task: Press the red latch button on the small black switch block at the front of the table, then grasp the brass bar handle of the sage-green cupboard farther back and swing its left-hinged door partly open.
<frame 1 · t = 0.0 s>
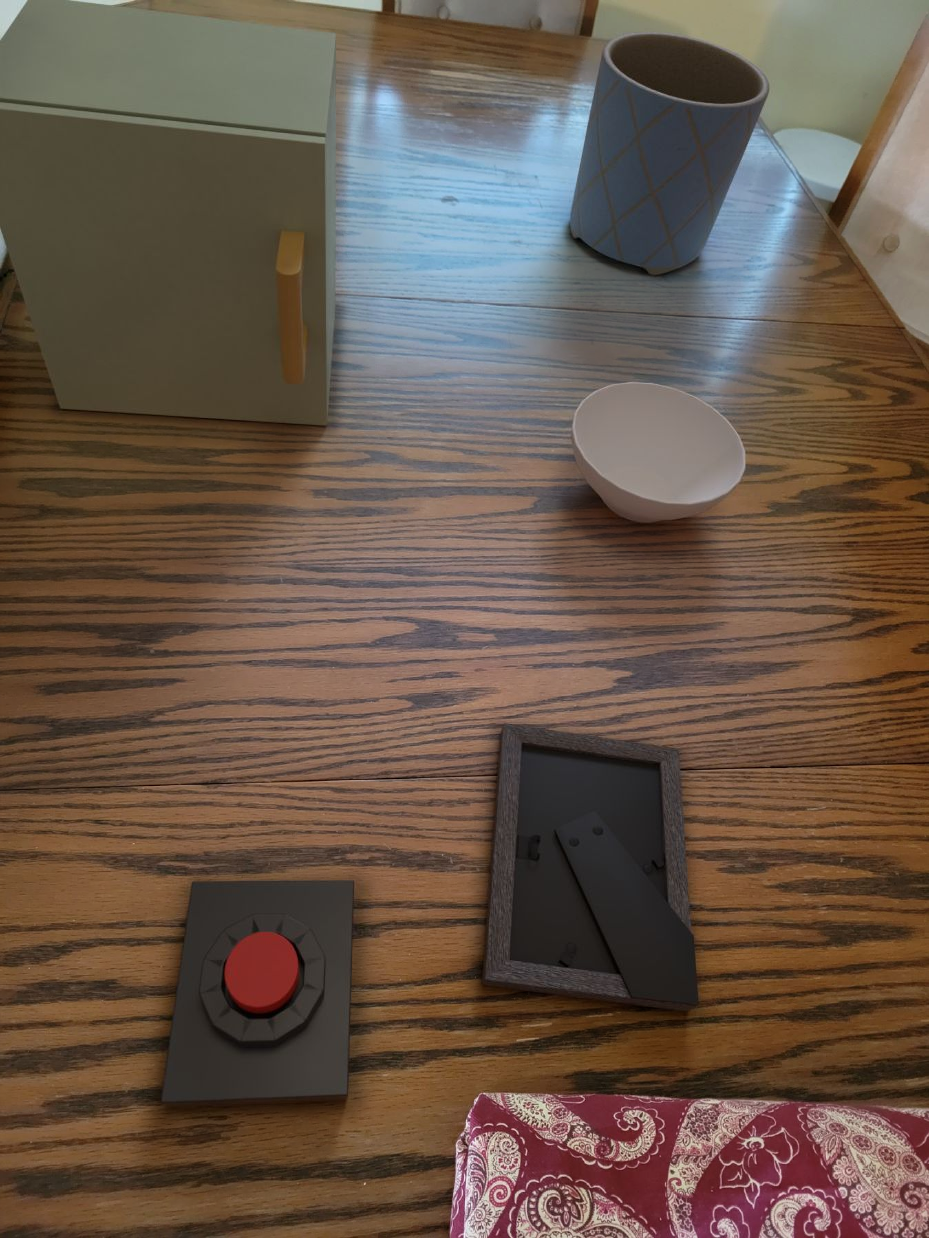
cabinet door: (170, 311, 67), point 13 cm above the table, hinge at 0.0°
latch button: (262, 972, 47), point 5 cm above the table, slide at 0.1 cm
bowl: (636, 495, 81), on the table
planter: (634, 239, 109), on the table
cabinet: (210, 351, 85), on the table
switch block: (267, 990, 51), on the table
picture frame: (585, 861, 58), on the table
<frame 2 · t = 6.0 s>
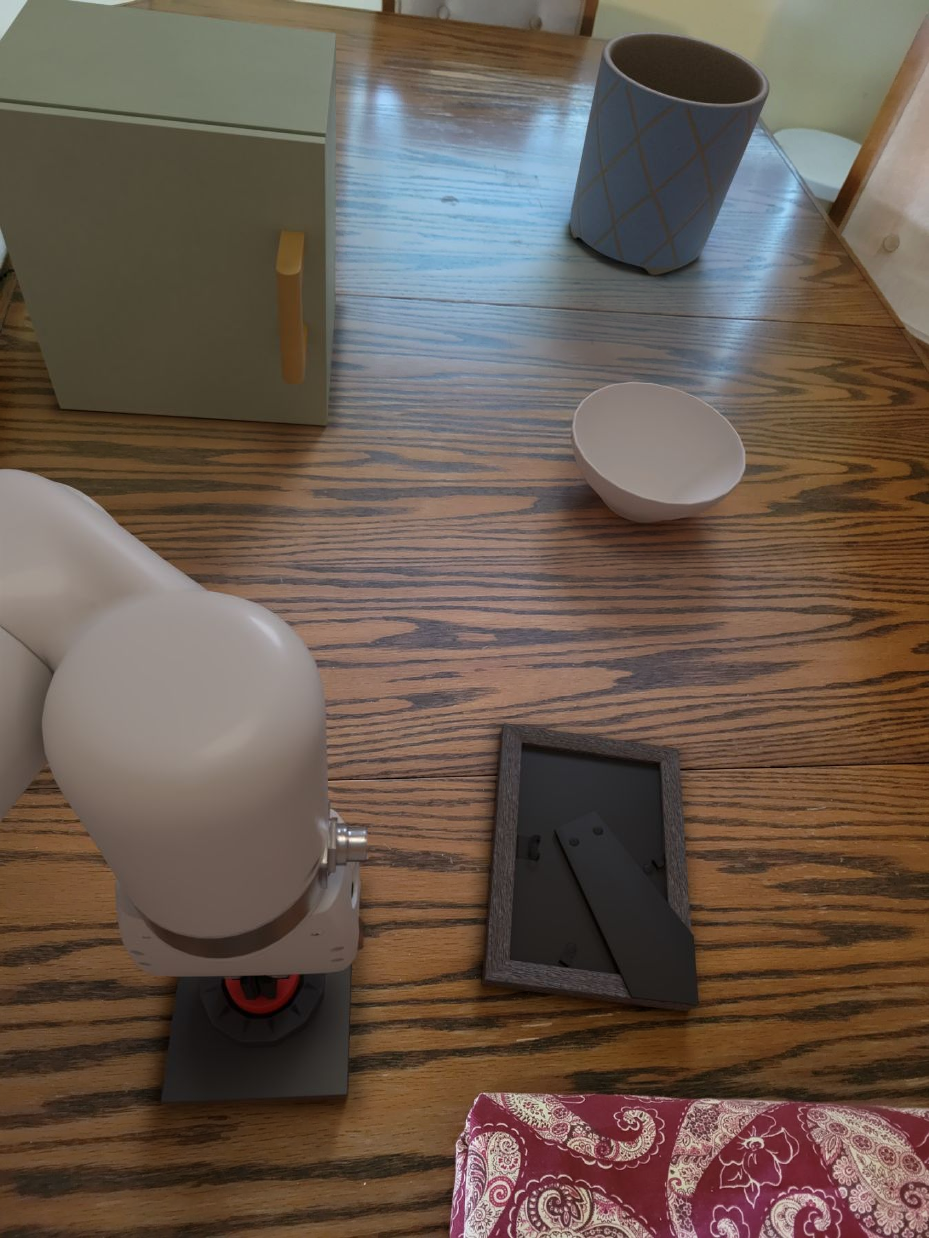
hand: (264, 969, 46), 5 cm above the table, tool pointing down, fingers closed
latch button: (262, 972, 47), point 4 cm above the table, slide at 0.1 cm, touching gripper
everything else where it was.
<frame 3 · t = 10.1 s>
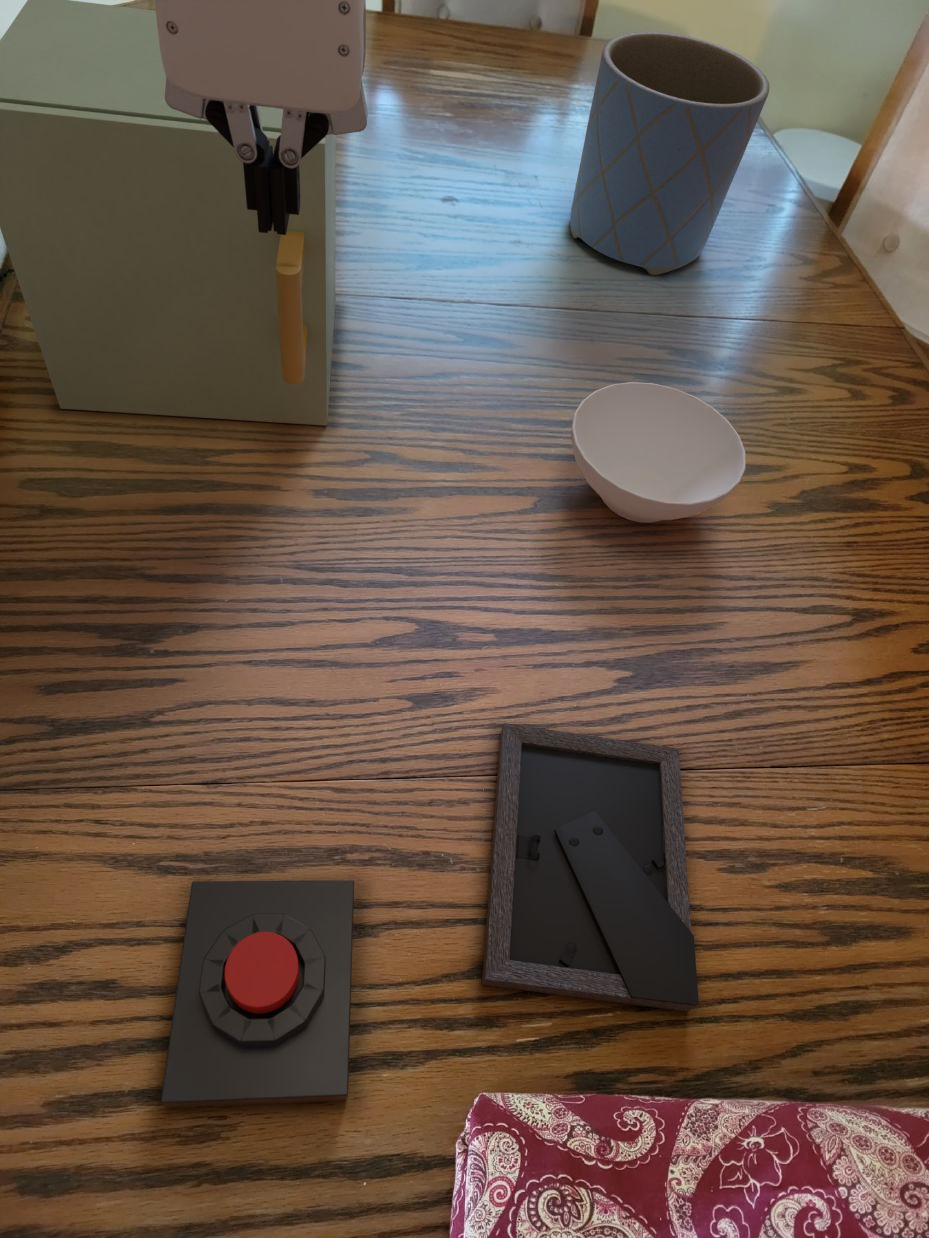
hand: (274, 221, 50), 27 cm above the table, tool pointing down, fingers closed
latch button: (262, 972, 47), point 5 cm above the table, slide at 0.1 cm
everything else where it was.
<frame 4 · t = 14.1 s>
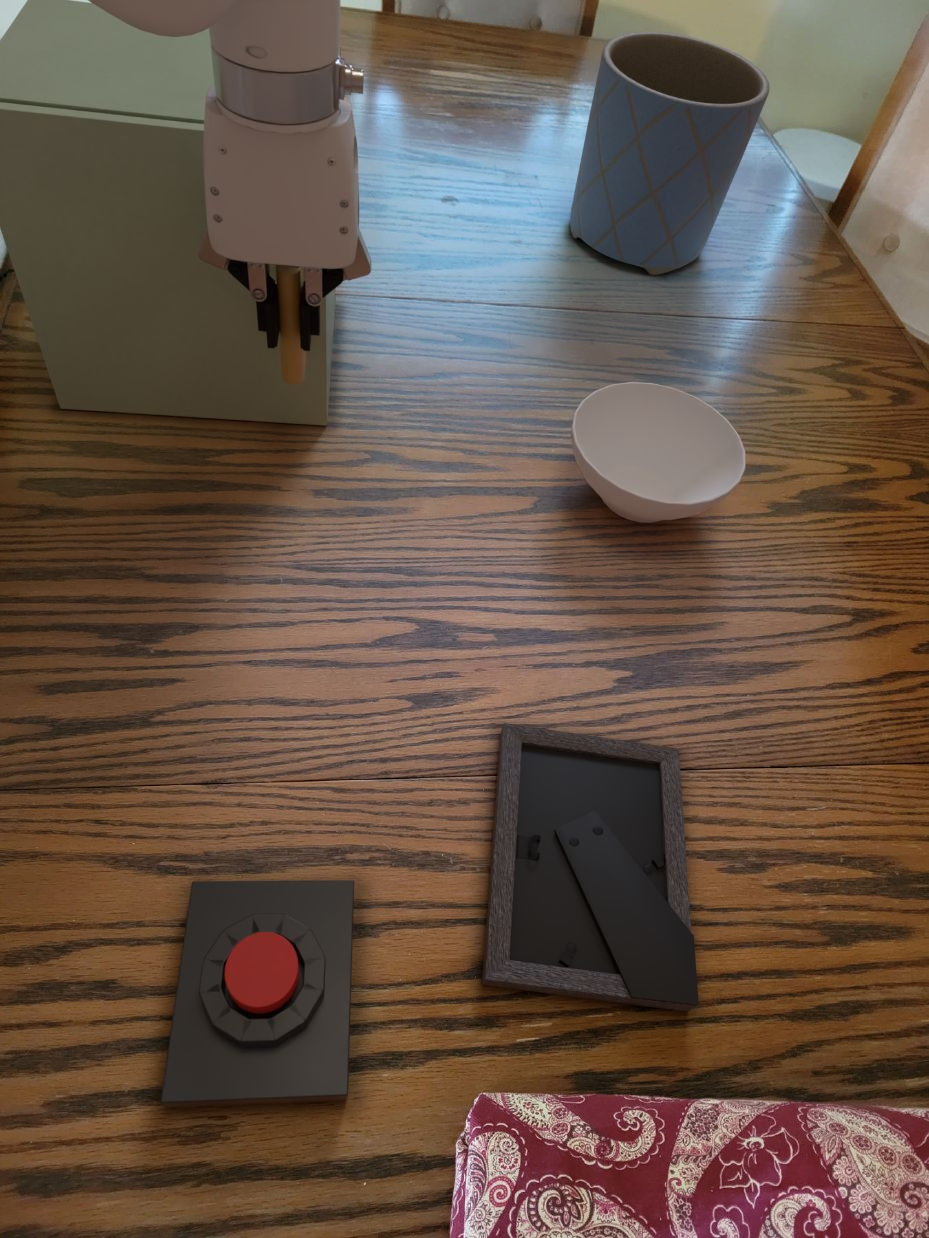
hand: (290, 337, 65), 14 cm above the table, tool pointing down, fingers closed on cabinet door, 2 cm apart
cabinet door: (170, 311, 67), point 13 cm above the table, hinge at 0.0°, touching gripper
everything else where it was.
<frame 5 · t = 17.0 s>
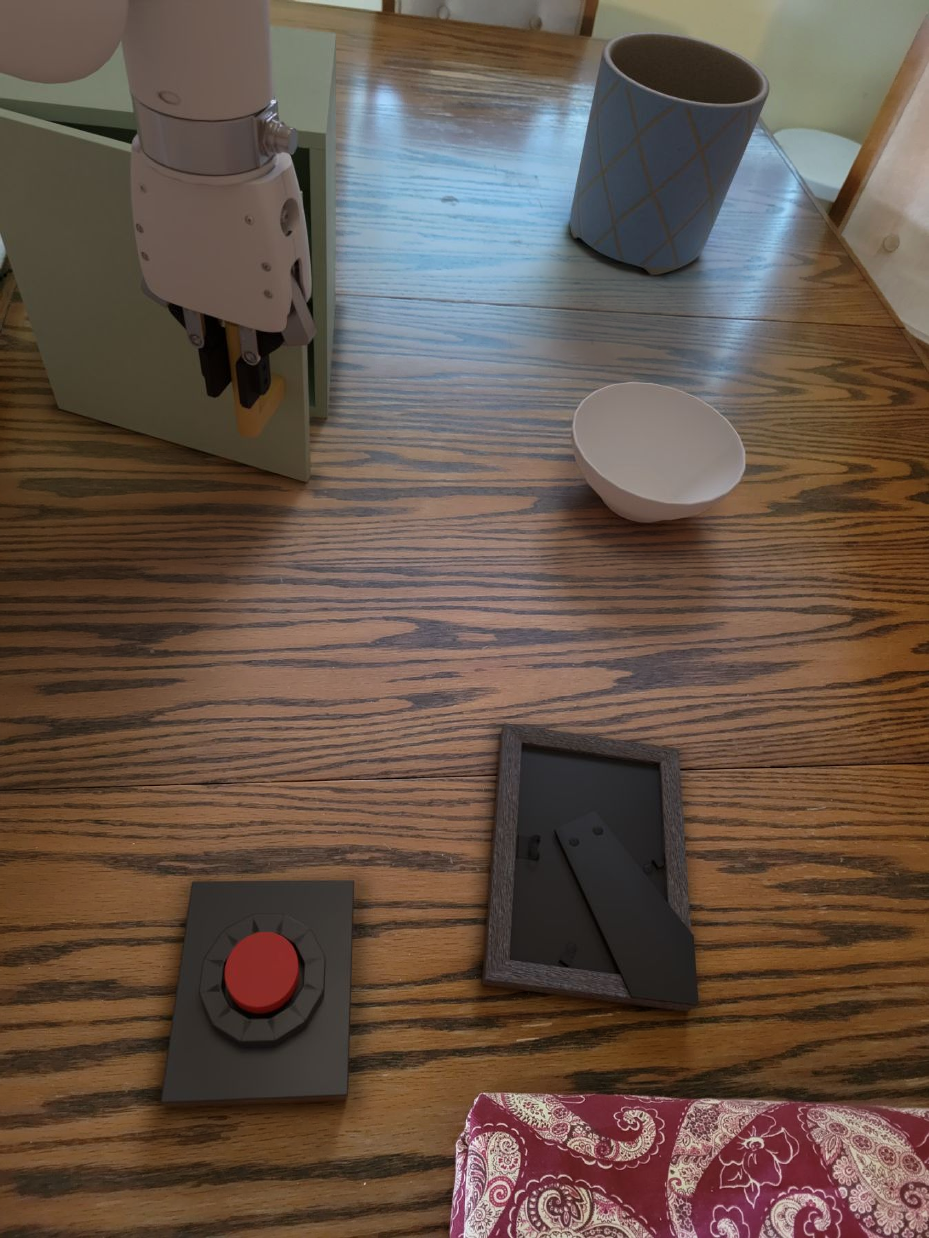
hand: (238, 390, 61), 14 cm above the table, tool pointing down, fingers closed on cabinet door, 2 cm apart
cabinet door: (141, 338, 64), point 13 cm above the table, hinge at 18.7°, touching gripper
everything else where it was.
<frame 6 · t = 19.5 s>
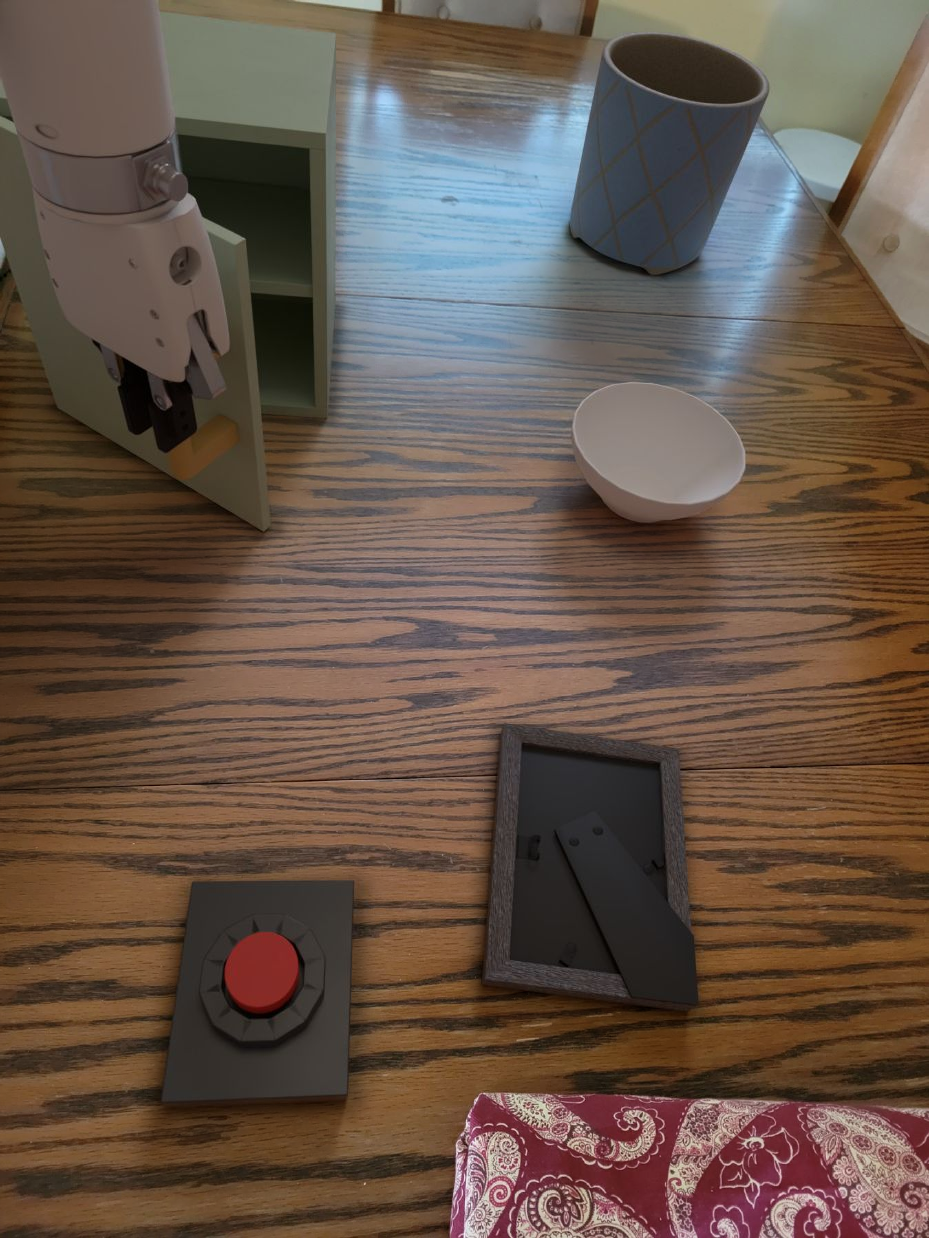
hand: (163, 430, 58), 14 cm above the table, tool pointing down, fingers closed on cabinet door, 2 cm apart
cabinet door: (102, 358, 62), point 13 cm above the table, hinge at 35.1°, touching gripper
everything else where it was.
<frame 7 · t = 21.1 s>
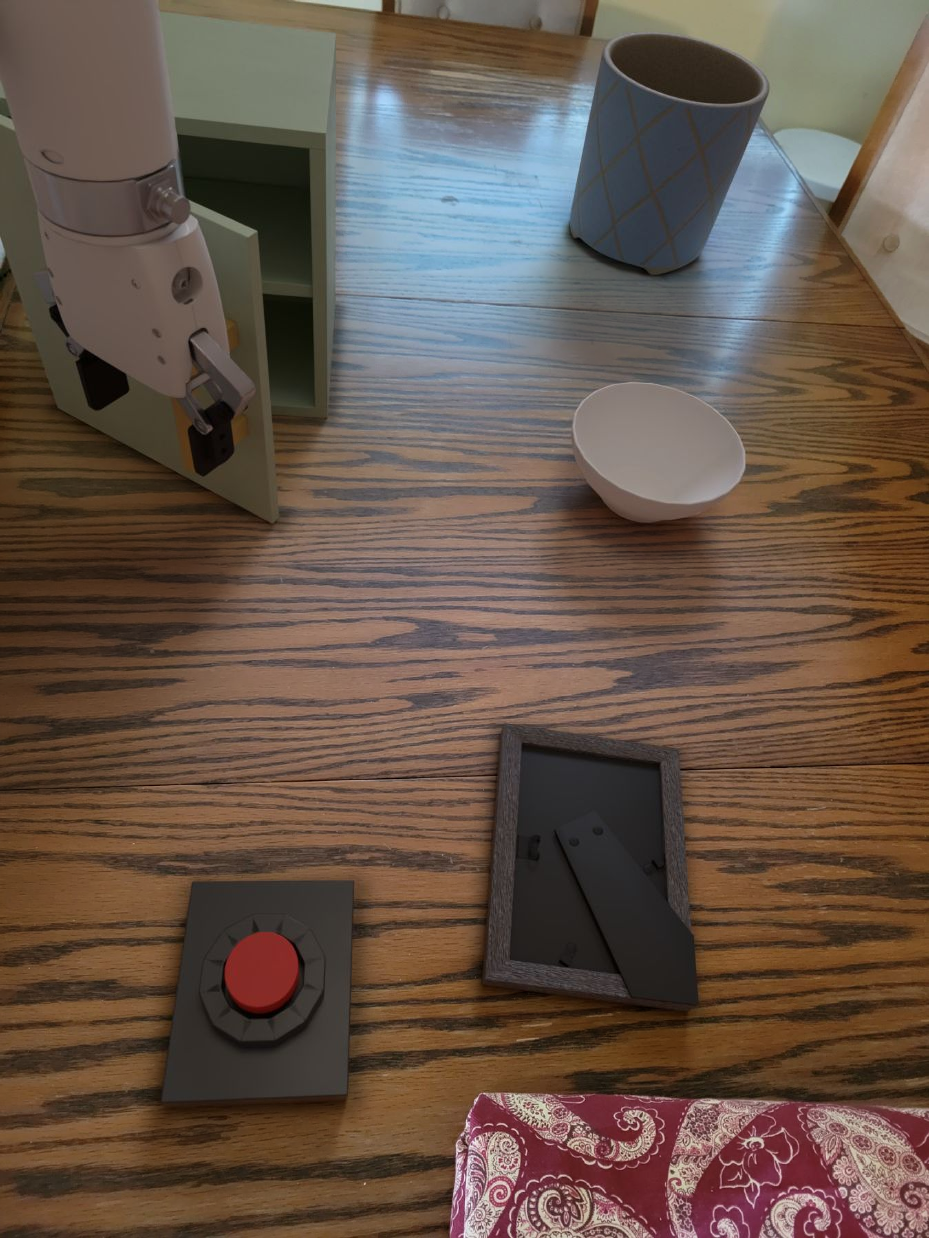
hand: (161, 431, 57), 14 cm above the table, tool pointing down, fingers open, 9 cm apart
cabinet door: (110, 355, 63), point 13 cm above the table, hinge at 32.4°
everything else where it was.
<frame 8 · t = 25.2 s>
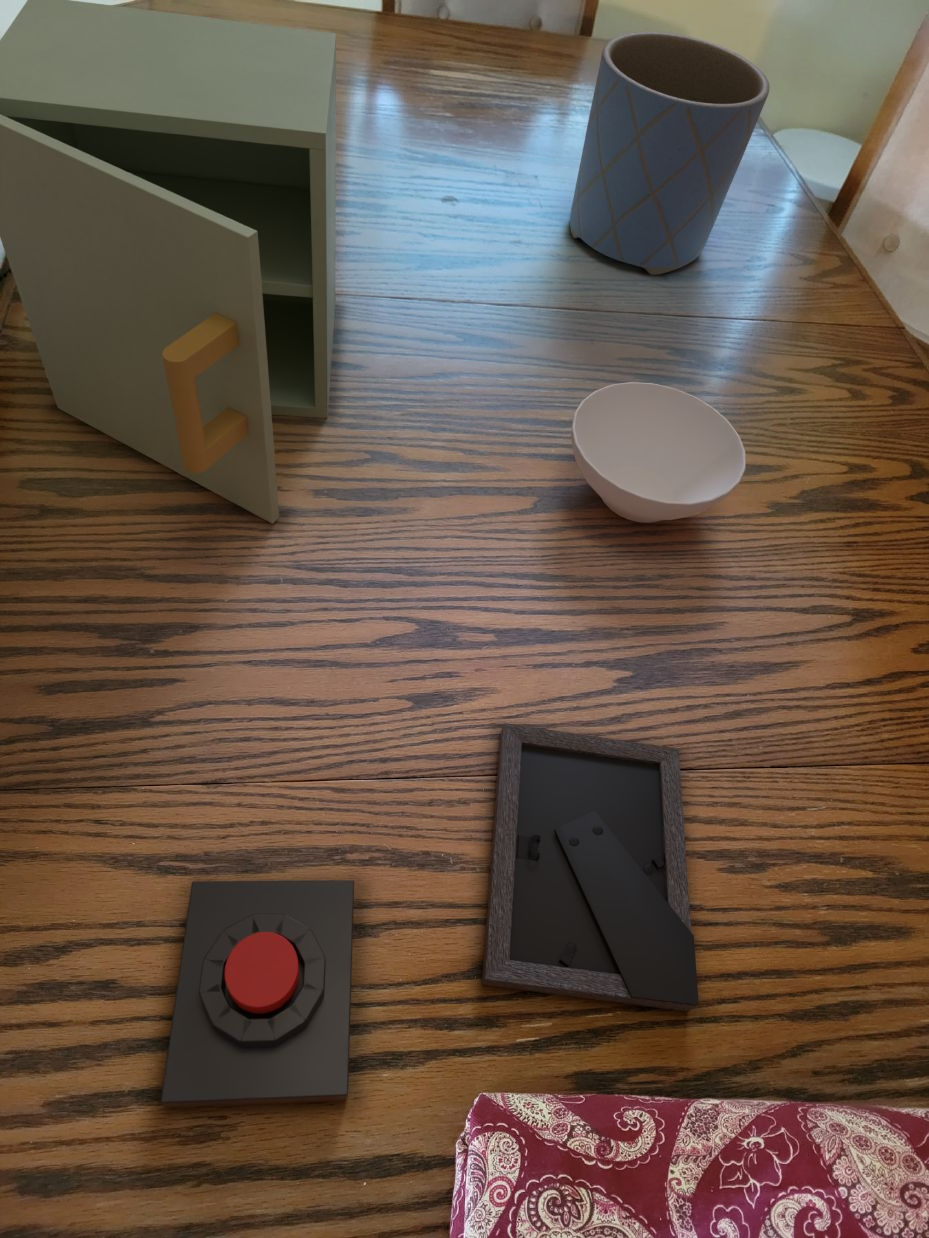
nothing on the table moved.
at the end: latch button pushed in 1.1 cm at the most during the clip, back to where it started at the end; latch button slide at 0.1 cm; cabinet door at +32° (first picture: +0°) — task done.
